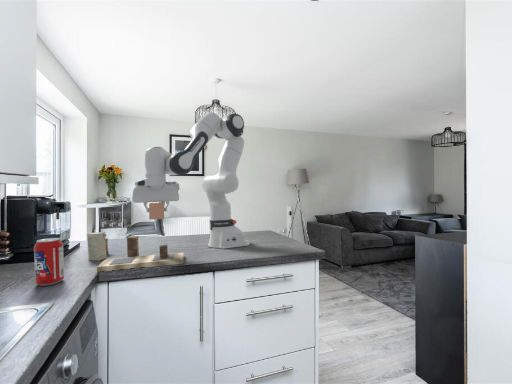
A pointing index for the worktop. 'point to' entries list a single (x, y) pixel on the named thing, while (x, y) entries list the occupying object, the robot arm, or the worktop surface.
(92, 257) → the skincare box
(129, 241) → the peg
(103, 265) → the board
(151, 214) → the block
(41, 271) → the soda can
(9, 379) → the worktop surface
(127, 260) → the pad
